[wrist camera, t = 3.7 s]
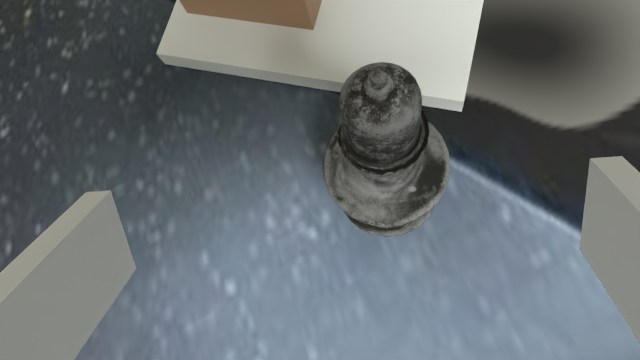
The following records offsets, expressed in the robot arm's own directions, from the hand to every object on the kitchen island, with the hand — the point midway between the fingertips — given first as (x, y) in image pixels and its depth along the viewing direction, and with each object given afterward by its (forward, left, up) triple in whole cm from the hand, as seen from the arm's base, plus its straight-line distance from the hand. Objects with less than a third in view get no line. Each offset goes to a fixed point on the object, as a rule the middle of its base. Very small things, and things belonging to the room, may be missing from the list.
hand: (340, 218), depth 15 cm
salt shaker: (0, -5, -13) cm, 14 cm away
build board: (+6, -16, -12) cm, 21 cm away
